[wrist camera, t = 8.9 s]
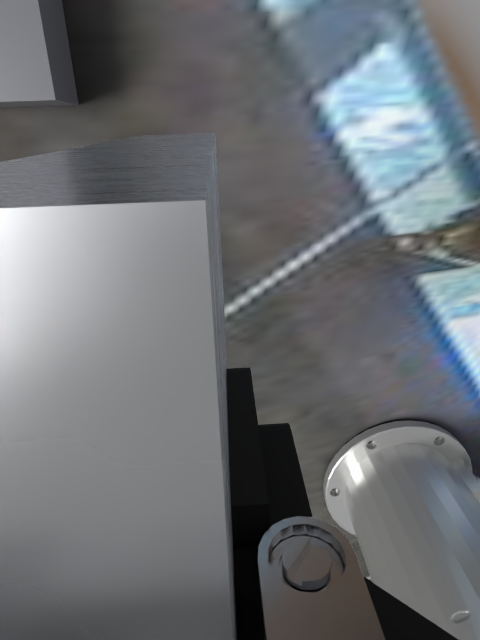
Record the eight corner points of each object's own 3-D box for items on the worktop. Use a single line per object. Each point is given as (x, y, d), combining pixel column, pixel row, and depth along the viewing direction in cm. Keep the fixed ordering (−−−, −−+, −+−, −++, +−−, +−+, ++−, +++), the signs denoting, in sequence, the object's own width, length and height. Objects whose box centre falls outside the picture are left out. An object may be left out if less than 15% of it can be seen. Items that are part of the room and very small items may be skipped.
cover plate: (215, 133, 12) (205, 198, 2) (232, 473, 17) (255, 995, 7) (140, 135, 12) (-311, 222, 2) (180, 476, 17) (124, 1009, 7)
